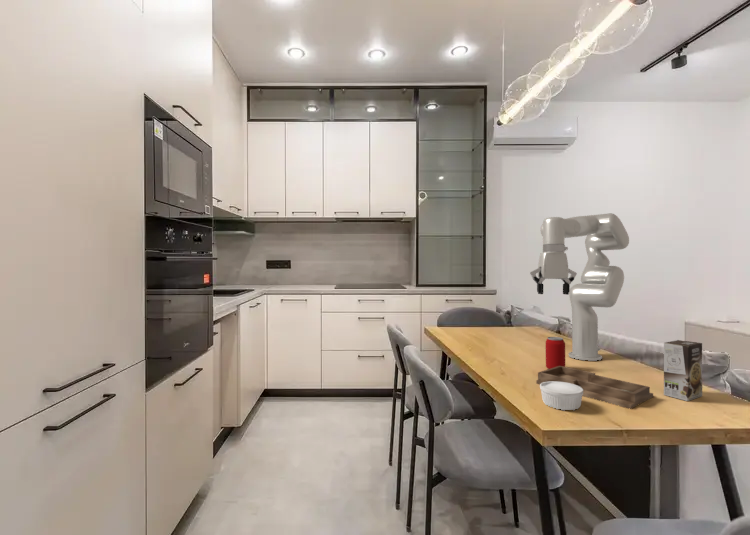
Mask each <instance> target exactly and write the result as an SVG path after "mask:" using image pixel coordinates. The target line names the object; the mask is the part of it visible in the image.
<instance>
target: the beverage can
mask: <svg viewBox="0 0 750 535" xmlns="http://www.w3.org/2000/svg"><path fill="white" fill-rule="evenodd" d="M557 366H564V367H566V342H565V341H564V338H563V337H559V336H547V338H546V340H545V367H546V369H547V370H548V369H551V368H554V367H557Z"/></svg>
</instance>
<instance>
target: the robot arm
mask: <svg viewBox="0 0 750 535" xmlns="http://www.w3.org/2000/svg"><path fill="white" fill-rule="evenodd" d="M540 234H541V236H542V252H541V253H540V255H539V259H538V264H537V268H536V269H534V270H532V271H529V275H530V276H531V278H532V280H533V281H534V282H535V283H536V291H537V294H538V295H543V294H544V283H543V282H544V281H545V280H547V279H548V280H561V281H562V283H563V284H562V294H563V295H569V301H570V304H571V305H570V306H571V319H572V320H571V326H572V327H571V328H572V329H571V334H572V336H571V337H572V338H571V341H572V343H571V344H572V349H571V350H572V351H570V352H568V355H569V356H568V357H569V358H571V359H574V358H575V359H574V360H578V359H579V361H585V360H588V362H589V361H590V362H596V361H597V360H599V361H601V359H602V360H603V356H602V355H601V354H599V351H601V346H599V340H598V339H599V334H598V333H599V327H598V325H599V324H598V323H599V321H598V320H599V319H598V318H599V317H598V314H597V312H596V311H595V309H594V308H593V307H596V308H612V307H614V306H615V304H616V303H617V301H618V298H619V297H620V296H619V295H620V292H621V291H622V288H623V285H624V282H625V274H624V270H623V269H622V267H619V266H616V265H610V263H611V262H610V259H609V257H608V256H607V255H606V254H604V253H603V252H602V251H614V250H615V251H618V250H619V251H620V250H624V249H626V248H628V246H629V244H630V235H629V233H628V232H627V230H626V227H625V226H624V224H623V222H622V220H621V219H620V218H619V217H618V215H616V214H615V213H599V214H591V215H589V214H588V215H578V216H572V217H567V218H563V217H560V216H551V217H546V218H544V220H543V222H542V224H541V226H540ZM577 237H585V238H584V239H585V240H584V244H585V250H586V254H587V259H588V260H587V262H586V264H585V266H584V269H583V271H582V273H581V276H580V282H581V283H575V284H574V285H572V286H571V287H570V285H571V284H572V283H573V281H574V280H575V278H576V276H577V272H576V271H573V270H572V269H570V268H569V262H568V256H567V253H566V251H568V249H569V248H568V246H566V245H565V242H566V241H565V239H568V238H571V239H572V238H577ZM569 274H570V275H569ZM597 362H598V361H597Z"/></svg>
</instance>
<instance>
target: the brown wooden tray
mask: <svg viewBox="0 0 750 535" xmlns="http://www.w3.org/2000/svg"><path fill="white" fill-rule="evenodd" d="M535 381H536V384H537V385H540V384H541V383H543V382H549V381H557V382H566V383H571V384H575V385H577V386H579V387H581V388H582V389H583V395H582V397H585V396H586V398H589V397H590V398H589V399H592V398H594V399H593V400H596V399H597V400H596V401H600V400H601V401H600V402H603V401H605V402H604V403H607V402H608V404H611V403H612V404H611V405H614V404H615V406H618V405H619V407H623V408H625V407H626V408H627V409H629V408H630V409H629V410H631V408H632V409H634V408H635V407H637V406H638V404H639V405H641V404H642V402H643V403H644V402H646V401H648V400H650V399H651V398H653V397H654V393H653V392H651V390H650V386H648V385H643V384H639V383H634V382H630V381H625V380H620V379H616V378H611V377H606V376H602V375H597V374H596V372H595V373H594V372H590V371H586V370H582V369H577V368H574V367H573V368H572V367H568V366H565V367H564V366H557V367H554V368H551V369H548V368H547V369H545V370H541V371H538V372H537V380H535ZM640 403H641V404H640ZM636 405H637V406H636Z"/></svg>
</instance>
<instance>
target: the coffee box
mask: <svg viewBox="0 0 750 535" xmlns="http://www.w3.org/2000/svg"><path fill="white" fill-rule="evenodd" d="M663 396H668V397H671V398H675V399H678V400H681V401H685V402H689V401H693V400H695V399H698V398H701V397H703V343H702V342H696V341H691V340H690V341H688V340H679V339H677V340H676V339H675V340H672V341H666V342H663Z"/></svg>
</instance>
